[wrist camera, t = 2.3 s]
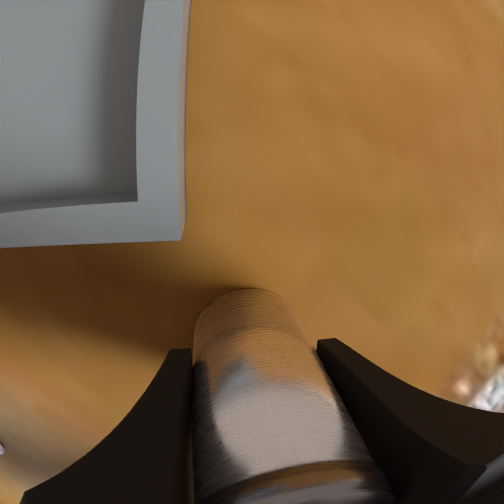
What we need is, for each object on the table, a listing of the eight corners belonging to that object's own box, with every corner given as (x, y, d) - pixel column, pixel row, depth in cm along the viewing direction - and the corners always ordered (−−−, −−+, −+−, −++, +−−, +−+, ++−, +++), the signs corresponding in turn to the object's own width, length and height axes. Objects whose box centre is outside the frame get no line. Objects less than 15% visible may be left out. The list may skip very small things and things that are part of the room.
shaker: (196, 379, 12) (205, 568, 4) (188, 289, 11) (177, 515, 3) (295, 372, 13) (364, 541, 5) (304, 284, 11) (427, 466, 4)
